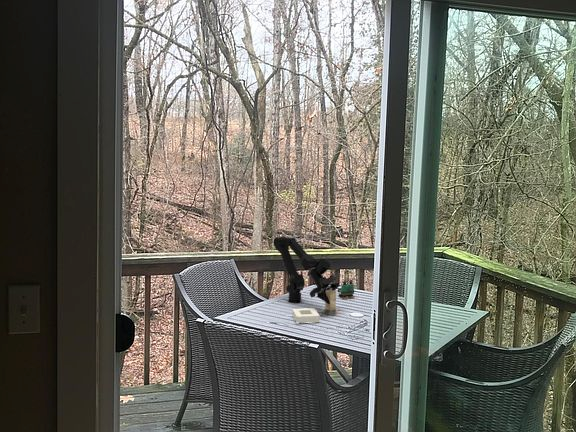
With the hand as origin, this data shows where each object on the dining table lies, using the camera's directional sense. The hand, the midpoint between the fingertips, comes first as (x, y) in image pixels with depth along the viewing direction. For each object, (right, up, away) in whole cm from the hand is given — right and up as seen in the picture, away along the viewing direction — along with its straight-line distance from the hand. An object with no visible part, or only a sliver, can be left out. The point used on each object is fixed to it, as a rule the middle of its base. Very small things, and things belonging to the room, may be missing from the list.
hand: (332, 303), depth 331 cm
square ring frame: (-15, -8, -7) cm, 18 cm away
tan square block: (-1, -6, +2) cm, 7 cm away
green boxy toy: (+10, -1, +32) cm, 33 cm away
